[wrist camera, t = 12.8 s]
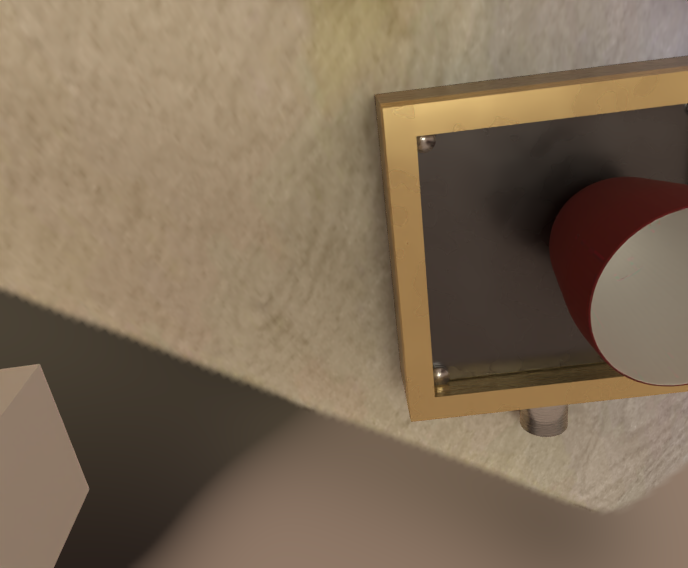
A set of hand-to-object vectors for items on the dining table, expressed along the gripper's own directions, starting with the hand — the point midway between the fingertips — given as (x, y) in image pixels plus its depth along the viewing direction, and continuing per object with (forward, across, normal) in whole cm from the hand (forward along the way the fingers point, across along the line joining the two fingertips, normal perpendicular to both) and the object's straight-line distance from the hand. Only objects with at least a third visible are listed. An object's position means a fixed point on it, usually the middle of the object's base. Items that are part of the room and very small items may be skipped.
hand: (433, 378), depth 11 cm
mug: (+23, +12, -8) cm, 27 cm away
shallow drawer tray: (+27, +10, -10) cm, 30 cm away
